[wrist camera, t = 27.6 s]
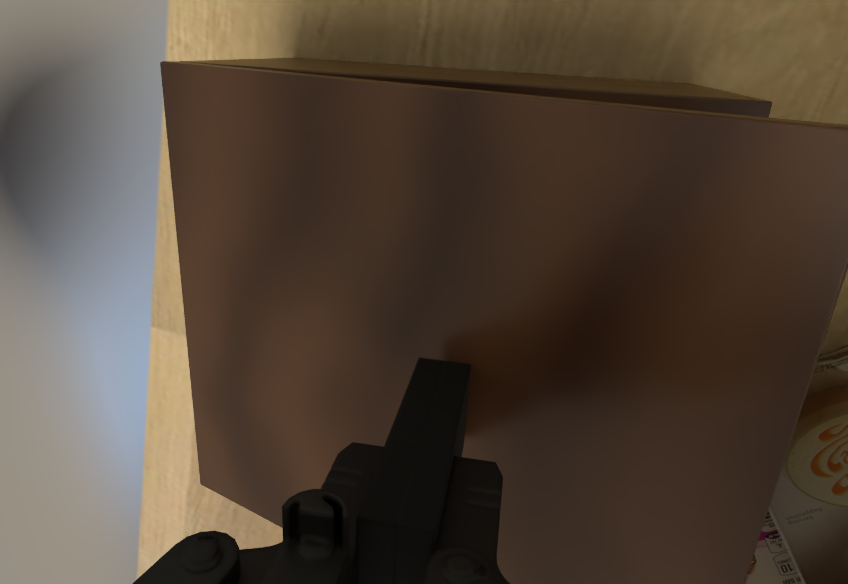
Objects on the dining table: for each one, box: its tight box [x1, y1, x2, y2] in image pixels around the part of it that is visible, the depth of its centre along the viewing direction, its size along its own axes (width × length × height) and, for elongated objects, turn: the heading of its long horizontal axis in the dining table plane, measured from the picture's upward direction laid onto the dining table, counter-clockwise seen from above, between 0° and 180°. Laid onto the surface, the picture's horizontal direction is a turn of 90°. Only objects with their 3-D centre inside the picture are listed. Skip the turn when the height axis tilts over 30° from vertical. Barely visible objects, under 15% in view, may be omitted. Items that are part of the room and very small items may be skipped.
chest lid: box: [160, 62, 848, 584], centre depth 19 cm, size 20×17×1 cm
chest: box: [180, 58, 772, 118], centre depth 28 cm, size 19×17×10 cm
